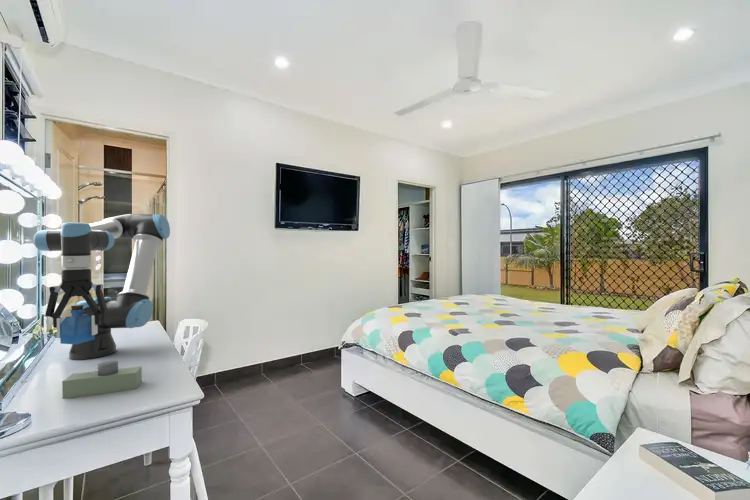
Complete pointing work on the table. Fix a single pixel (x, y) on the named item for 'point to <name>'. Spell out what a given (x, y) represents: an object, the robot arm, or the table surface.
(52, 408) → the table surface
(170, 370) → the table surface
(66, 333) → the perfume bottle
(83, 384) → the green slab with knob
